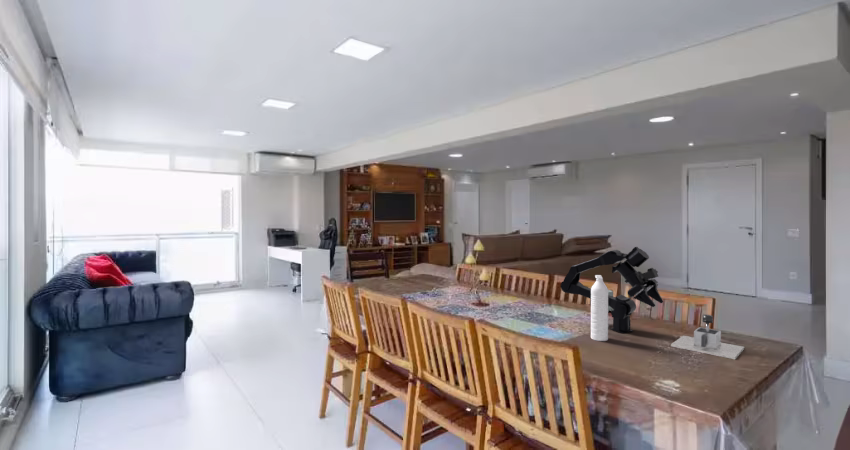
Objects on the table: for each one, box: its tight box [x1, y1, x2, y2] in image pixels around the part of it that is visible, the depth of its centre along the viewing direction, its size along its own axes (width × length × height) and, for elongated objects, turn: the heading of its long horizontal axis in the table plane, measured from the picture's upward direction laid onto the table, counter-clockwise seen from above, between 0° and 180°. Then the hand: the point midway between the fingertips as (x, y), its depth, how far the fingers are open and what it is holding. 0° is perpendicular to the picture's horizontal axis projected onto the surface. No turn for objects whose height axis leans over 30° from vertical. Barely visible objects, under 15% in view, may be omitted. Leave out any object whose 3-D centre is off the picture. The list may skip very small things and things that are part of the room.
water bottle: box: [590, 274, 609, 342], centre depth 173 cm, size 9×6×25 cm
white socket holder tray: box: [670, 326, 745, 360], centre depth 160 cm, size 20×15×6 cm
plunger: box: [701, 313, 714, 333], centre depth 160 cm, size 5×5×11 cm
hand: (658, 304), depth 172 cm, fingers open, 9 cm apart
